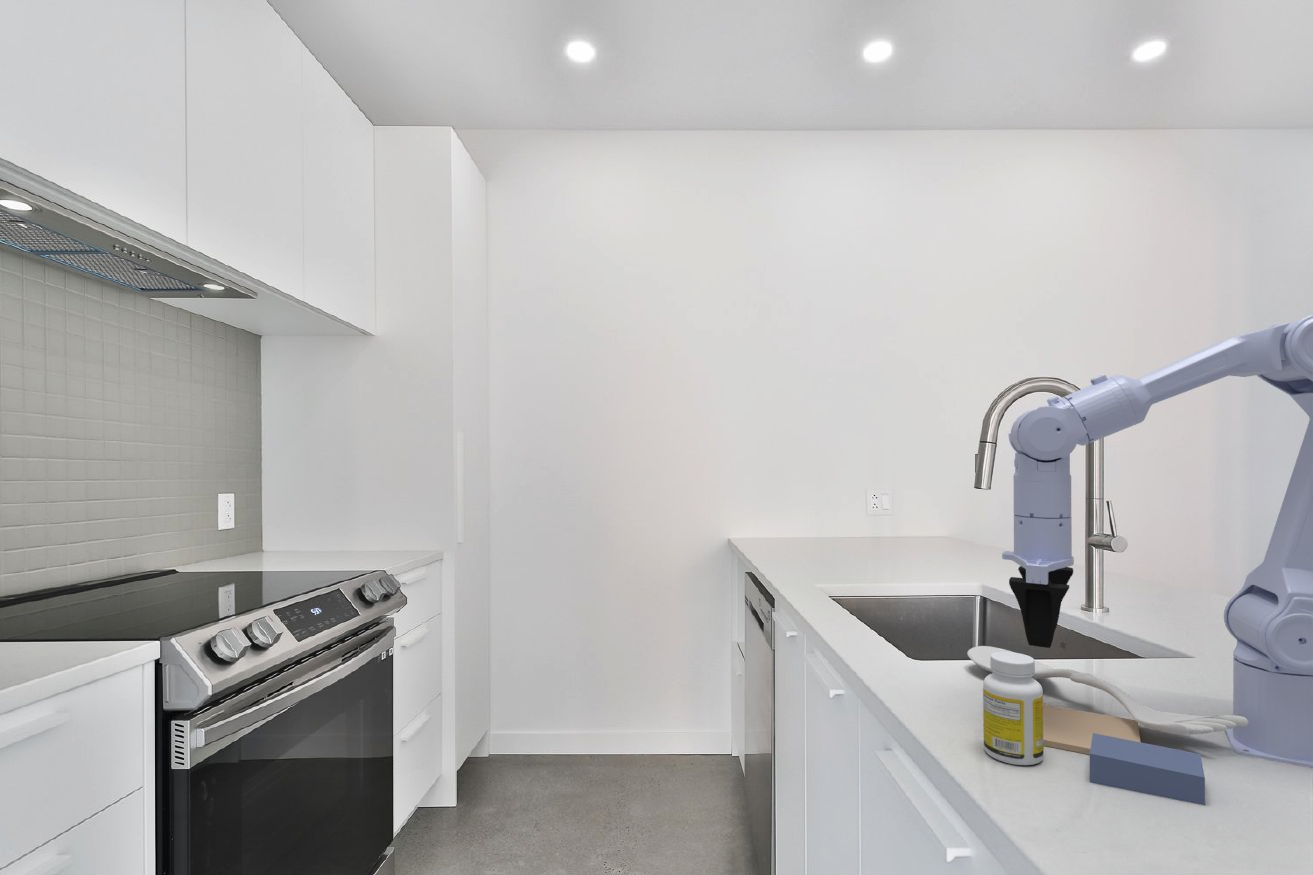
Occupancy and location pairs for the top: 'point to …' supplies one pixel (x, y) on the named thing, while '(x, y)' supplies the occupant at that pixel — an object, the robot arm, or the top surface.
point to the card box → (1147, 769)
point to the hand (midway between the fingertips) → (1042, 637)
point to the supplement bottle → (1013, 710)
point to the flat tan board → (1083, 728)
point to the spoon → (1125, 700)
